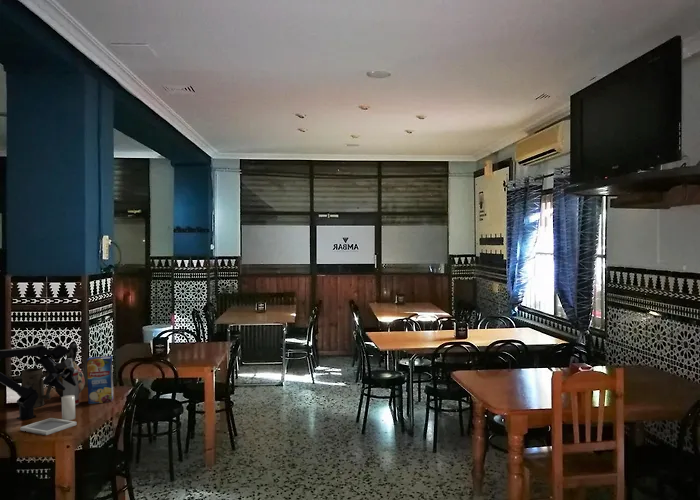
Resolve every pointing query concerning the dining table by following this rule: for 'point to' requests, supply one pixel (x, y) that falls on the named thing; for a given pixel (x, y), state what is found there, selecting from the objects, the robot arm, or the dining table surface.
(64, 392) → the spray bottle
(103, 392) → the juice carton
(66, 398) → the grey rounded cylinder
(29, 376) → the beer stein
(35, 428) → the tray
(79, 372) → the ceramic jug
